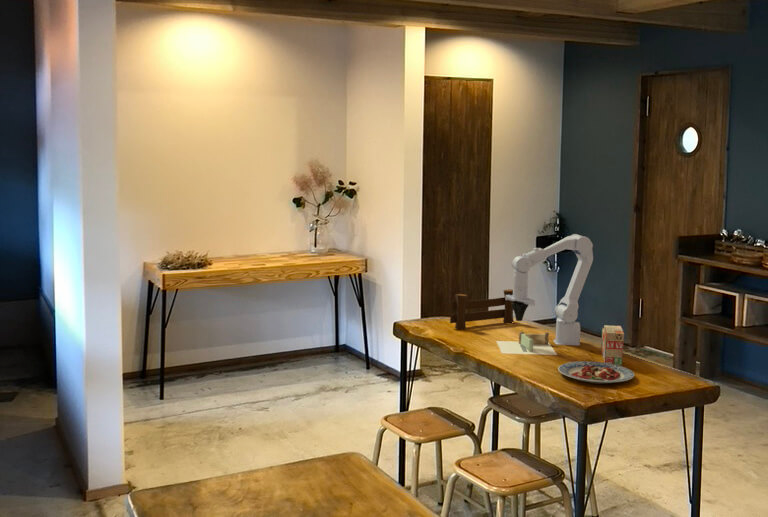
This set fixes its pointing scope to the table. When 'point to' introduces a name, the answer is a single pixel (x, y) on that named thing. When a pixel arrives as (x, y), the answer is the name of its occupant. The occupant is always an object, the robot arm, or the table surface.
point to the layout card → (517, 348)
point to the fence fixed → (536, 338)
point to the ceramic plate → (596, 372)
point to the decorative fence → (464, 317)
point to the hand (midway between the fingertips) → (519, 320)
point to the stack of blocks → (612, 344)
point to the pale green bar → (527, 342)
